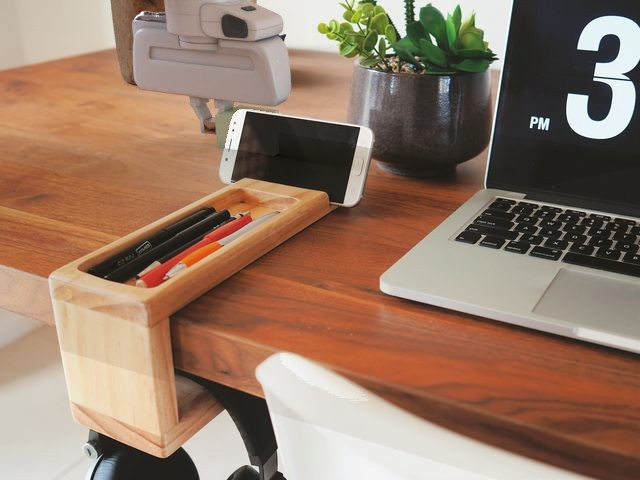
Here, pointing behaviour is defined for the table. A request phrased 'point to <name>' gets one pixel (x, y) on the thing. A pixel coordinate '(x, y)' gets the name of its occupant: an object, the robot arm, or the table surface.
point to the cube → (224, 122)
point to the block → (129, 29)
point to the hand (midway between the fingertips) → (214, 133)
